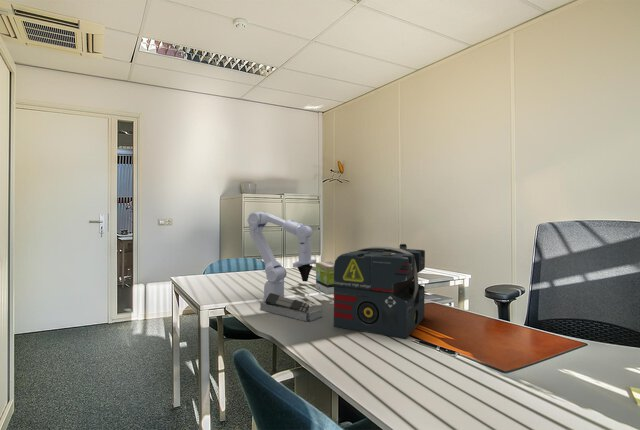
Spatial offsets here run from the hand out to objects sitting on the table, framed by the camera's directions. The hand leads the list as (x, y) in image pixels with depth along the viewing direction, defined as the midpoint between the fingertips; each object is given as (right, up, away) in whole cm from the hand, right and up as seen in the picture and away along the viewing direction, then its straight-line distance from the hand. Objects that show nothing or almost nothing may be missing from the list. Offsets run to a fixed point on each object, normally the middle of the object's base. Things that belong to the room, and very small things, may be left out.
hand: (304, 281), depth 168 cm
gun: (-6, -10, -12) cm, 17 cm away
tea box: (+12, -10, +26) cm, 31 cm away
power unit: (+31, -11, -27) cm, 42 cm away
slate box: (-6, -11, -15) cm, 19 cm away
